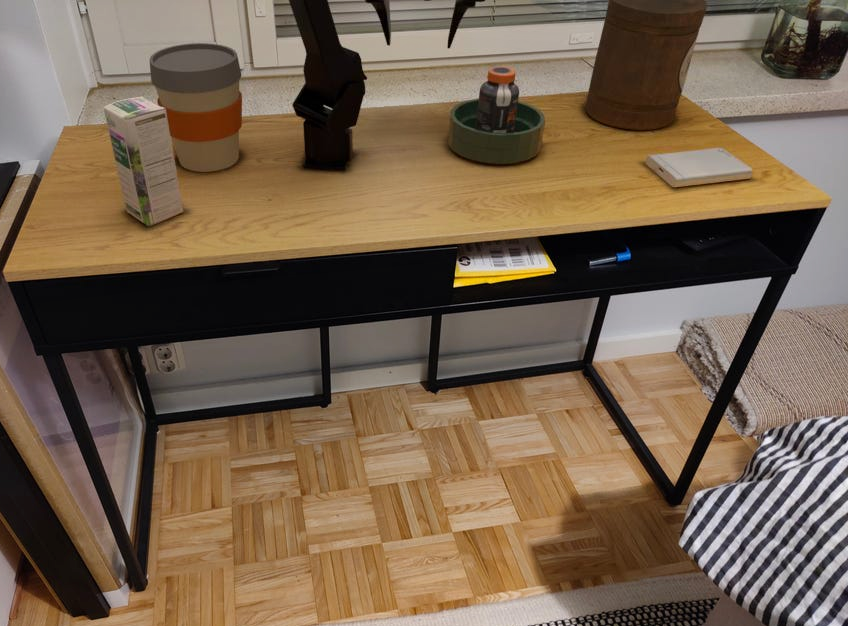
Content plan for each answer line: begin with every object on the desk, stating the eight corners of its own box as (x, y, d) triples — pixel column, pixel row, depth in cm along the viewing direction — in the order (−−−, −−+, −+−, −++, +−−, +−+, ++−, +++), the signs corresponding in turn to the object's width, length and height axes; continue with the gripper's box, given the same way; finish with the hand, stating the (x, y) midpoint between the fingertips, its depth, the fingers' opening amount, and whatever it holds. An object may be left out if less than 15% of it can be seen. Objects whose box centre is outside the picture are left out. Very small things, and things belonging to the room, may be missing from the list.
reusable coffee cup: (151, 170, 105) (129, 66, 95) (191, 136, 114) (175, 39, 104) (228, 182, 102) (214, 76, 92) (263, 147, 111) (253, 47, 101)
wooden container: (691, 126, 118) (736, -20, 103) (610, 134, 115) (645, -15, 101) (645, 94, 129) (680, -42, 114) (570, 101, 126) (596, -38, 112)
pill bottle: (510, 153, 109) (521, 78, 101) (472, 149, 109) (480, 75, 102) (512, 137, 113) (523, 64, 106) (475, 134, 114) (483, 61, 106)
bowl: (445, 163, 107) (447, 131, 104) (450, 125, 118) (452, 95, 114) (541, 169, 105) (547, 137, 102) (537, 130, 116) (542, 100, 113)
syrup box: (125, 212, 95) (99, 105, 86) (163, 197, 98) (142, 93, 89) (147, 227, 92) (123, 119, 83) (186, 212, 95) (166, 106, 86)
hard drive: (720, 146, 108) (647, 153, 106) (754, 169, 102) (677, 177, 100) (716, 156, 109) (644, 163, 107) (750, 180, 103) (674, 188, 101)
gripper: (348, -62, 93) (350, 60, 103) (491, -58, 91) (478, 67, 101) (361, -78, 101) (361, 37, 111) (492, -74, 99) (480, 43, 109)
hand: (418, 46), depth 108 cm, fingers open, 9 cm apart
